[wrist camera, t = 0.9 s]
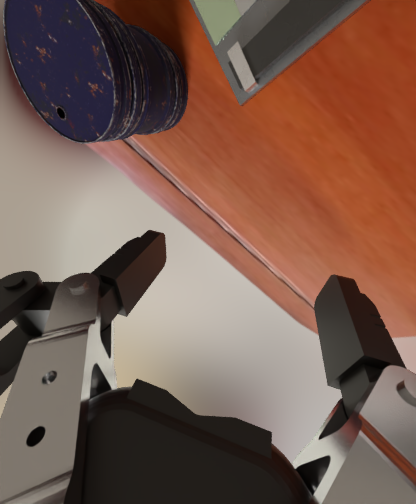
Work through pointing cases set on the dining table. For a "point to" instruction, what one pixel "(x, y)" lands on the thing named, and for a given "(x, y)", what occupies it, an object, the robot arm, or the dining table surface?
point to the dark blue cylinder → (93, 70)
